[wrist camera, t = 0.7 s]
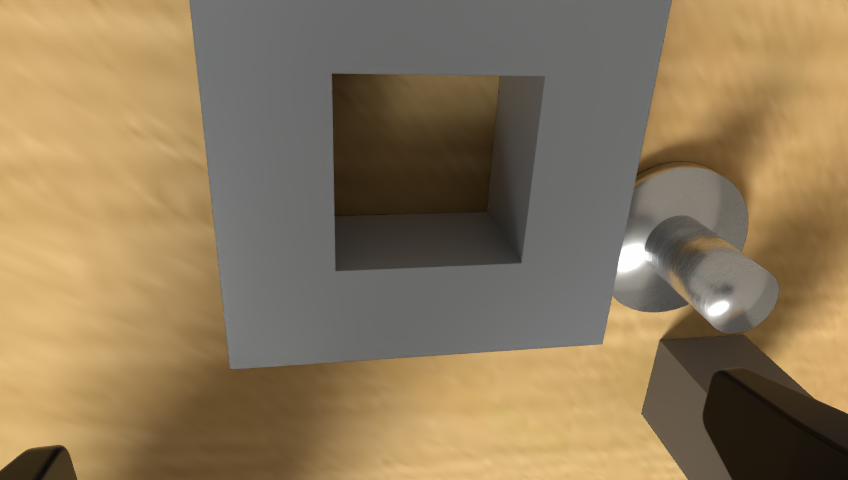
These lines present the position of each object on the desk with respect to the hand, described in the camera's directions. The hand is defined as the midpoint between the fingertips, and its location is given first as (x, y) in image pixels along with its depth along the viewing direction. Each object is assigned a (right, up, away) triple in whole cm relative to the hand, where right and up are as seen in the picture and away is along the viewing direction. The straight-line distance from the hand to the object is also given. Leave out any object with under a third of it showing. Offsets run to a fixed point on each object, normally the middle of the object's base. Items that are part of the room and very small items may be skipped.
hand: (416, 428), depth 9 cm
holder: (0, +6, +12) cm, 13 cm away
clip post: (+9, +3, +16) cm, 18 cm away
